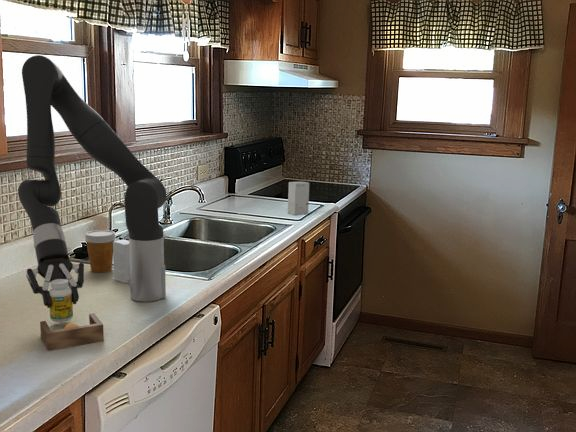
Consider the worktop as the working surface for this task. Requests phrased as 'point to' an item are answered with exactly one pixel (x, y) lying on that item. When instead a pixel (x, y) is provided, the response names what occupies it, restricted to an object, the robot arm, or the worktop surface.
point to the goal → (72, 334)
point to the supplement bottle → (60, 301)
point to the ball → (70, 326)
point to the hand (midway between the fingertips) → (62, 304)
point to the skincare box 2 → (298, 198)
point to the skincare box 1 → (121, 261)
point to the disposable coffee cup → (100, 249)
